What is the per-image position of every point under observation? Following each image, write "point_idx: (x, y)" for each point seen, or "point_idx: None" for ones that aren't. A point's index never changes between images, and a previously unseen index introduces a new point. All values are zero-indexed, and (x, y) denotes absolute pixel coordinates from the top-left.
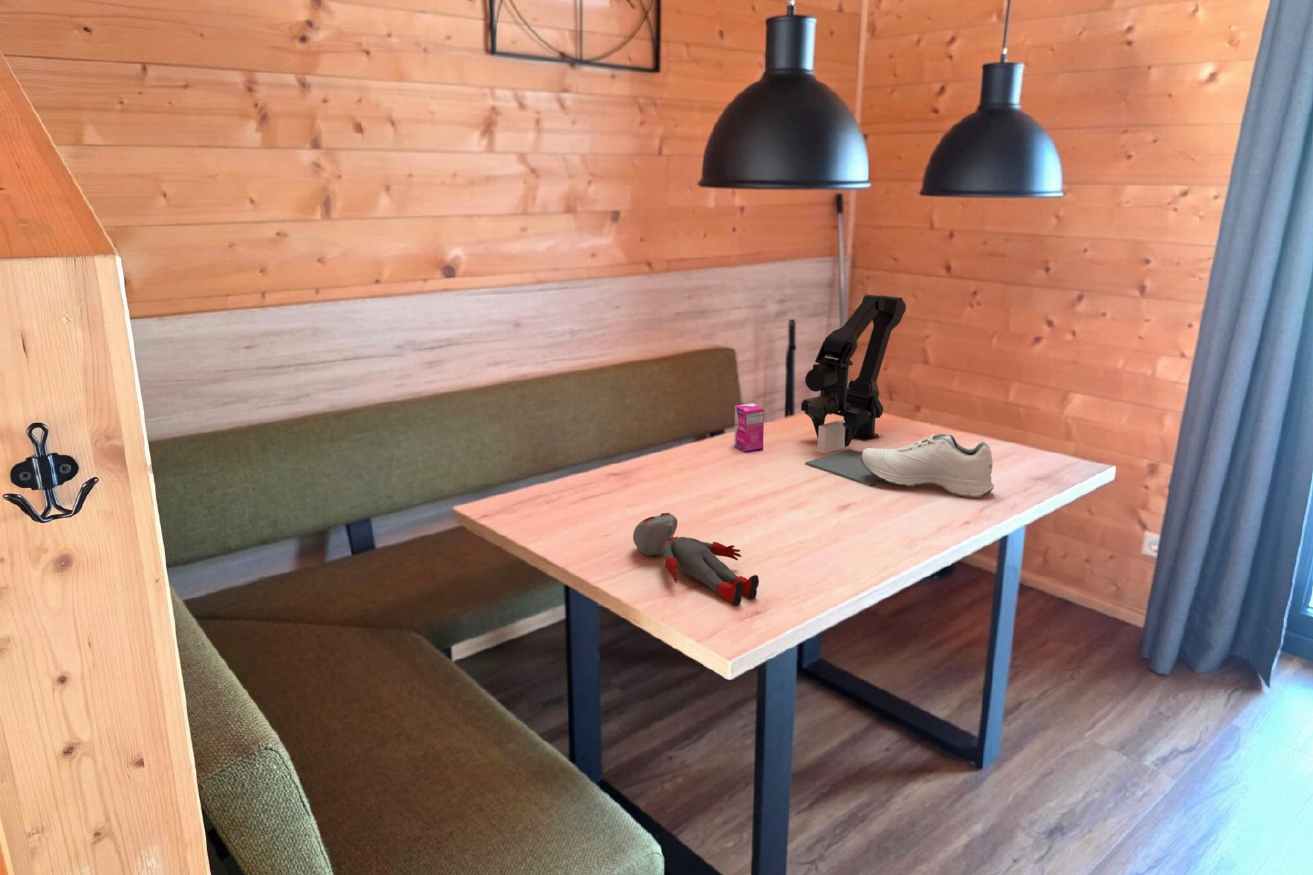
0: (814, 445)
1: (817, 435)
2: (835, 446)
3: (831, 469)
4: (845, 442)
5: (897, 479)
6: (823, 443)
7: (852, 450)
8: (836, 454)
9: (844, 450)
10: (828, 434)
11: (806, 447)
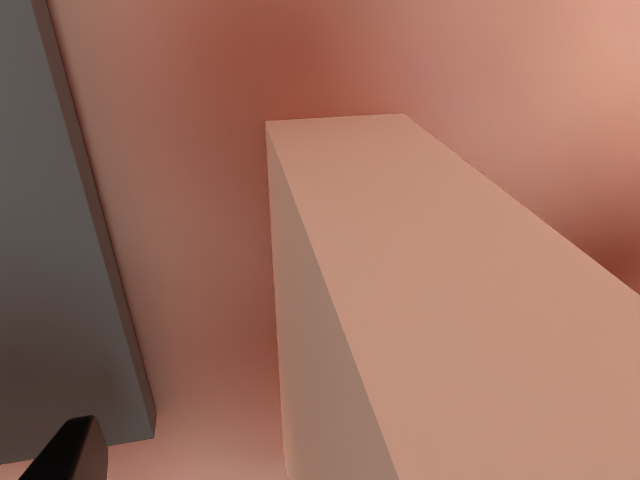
0: None
1: None
2: (282, 354)
3: None
4: (46, 477)
5: None
6: (330, 180)
7: None
8: (2, 165)
9: (125, 367)
10: (330, 413)
11: (596, 108)
